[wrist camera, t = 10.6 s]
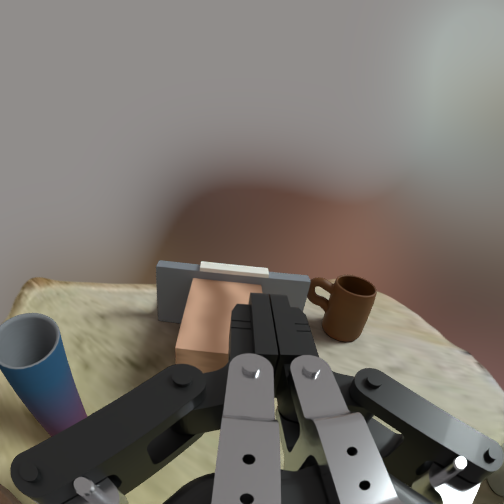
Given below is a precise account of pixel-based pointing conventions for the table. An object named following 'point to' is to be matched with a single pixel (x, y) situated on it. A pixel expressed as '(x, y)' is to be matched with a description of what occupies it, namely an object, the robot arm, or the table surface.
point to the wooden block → (7, 496)
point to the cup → (40, 371)
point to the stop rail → (181, 276)
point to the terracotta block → (209, 322)
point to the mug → (344, 305)
